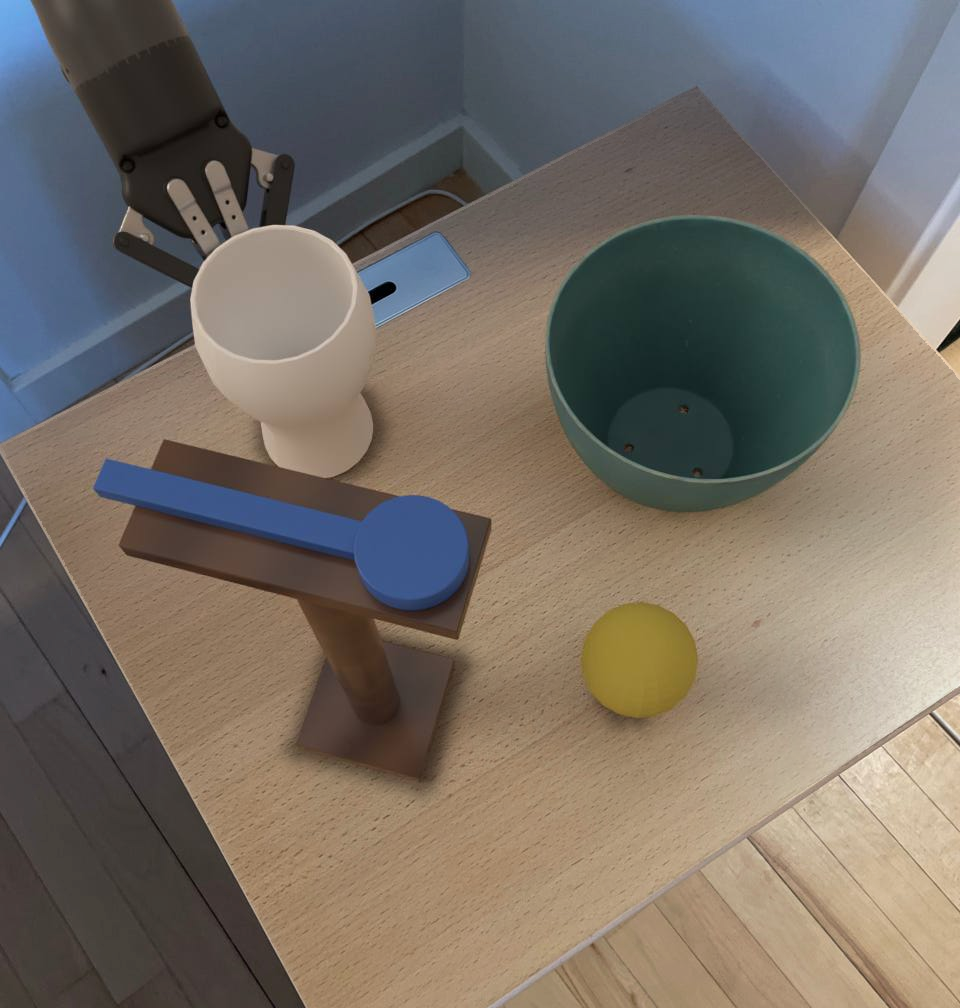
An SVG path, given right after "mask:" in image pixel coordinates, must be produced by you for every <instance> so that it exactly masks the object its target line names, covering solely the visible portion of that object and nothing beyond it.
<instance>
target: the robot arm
mask: <svg viewBox="0 0 960 1008" xmlns="http://www.w3.org/2000/svg"><path fill="white" fill-rule="evenodd" d="M30 3H31V5H32V7H33V9H34V11H35V13H36V16H37V18H38V21H39V23H40V26H41V29H42V31H43V33H44V35H45V38H46V40H47V42H48V44H49V47H50V49H51V50H52V53H53V55H54V56H55V58H56V59H57V62H58V63H59V66H60V70H61V73H62V75H63V76H64V78H65V80H66V81H67V82H68V83H69V84H70V86H71V87H72V89H73V91H74V94H75V95H76V97H77V99H78V100H79V103H80V105H81V106H82V108H83V110H84V111H85V113H86V115H87V117H88V119H89V120H90V123H91V124H92V126H93V128H94V130H95V132H96V134H97V135H98V137H99V139H100V141H101V143H102V145H103V147H104V149H105V150H106V152H107V154H108V156H109V157H110V160H111V161H112V163H113V165H114V167H115V169H116V171H117V173H118V175H119V177H120V182H121V195H122V199H123V201H124V203H125V205H126V206H127V209H126V211H125V214H124V217H123V219H122V222H121V224H120V227H119V229H118V232H116V233H114V235H113V236H112V238H111V244H112V247H113V248H114V249H115V250H116V251H117V252H118V253H121V254H122V255H125V256H126V257H129V258H131V259H133V260H135V261H137V262H139V263H141V264H143V265H145V266H147V267H149V268H151V269H152V270H154V271H156V272H159V273H161V274H163V275H165V276H167V277H169V278H171V279H173V280H175V281H177V282H179V283H181V284H183V285H185V286H186V287H189V288H191V289H192V287H193V281H194V279H195V277H196V275H197V273H198V271H199V269H200V268H198V267H197V266H194V265H192V264H190V263H188V262H186V261H184V260H183V259H181V258H178V257H176V256H175V255H173V254H171V253H168V252H166V251H165V250H163V249H160V248H159V247H157V246H155V241H156V237H155V234H154V233H153V231H152V230H151V229H150V228H149V227H147V226H146V224H145V223H144V218H145V219H146V220H148V221H150V222H152V223H153V224H155V225H157V226H159V227H161V228H162V229H164V230H165V231H168V232H169V233H171V234H173V235H174V236H176V237H179V238H181V239H189V241H190V243H191V244H192V245H193V247H194V249H195V251H196V253H198V255H199V256H200V257H201V259H202V260H203V262H204V261H205V260H206V259H207V258H208V257H209V256H210V254H211V253H212V252H213V251H214V250H215V249H216V248H217V247H219V246H220V245H222V242H221V241H220V239H219V237H218V236H217V234H216V232H215V231H214V229H213V228H214V227H216V225H218V226H219V229H220V231H221V234H222V236H223V238H224V240H225V242H226V241H227V240H229V239H230V238H232V237H233V236H236V235H238V234H241V233H243V232H246V231H248V230H250V227H249V225H248V222H247V220H246V217H245V215H244V213H243V212H244V211H245V209H246V206H247V204H248V203H247V201H248V193H249V186H250V185H249V184H250V176H251V170H252V169H253V171H254V173H255V181H256V183H257V185H258V186H259V188H261V189H263V190H264V192H263V193H264V194H263V198H262V207H261V213H260V218H259V223H258V224H259V225H258V228H259V227H265V226H270V225H287V224H286V223H287V217H288V216H287V215H288V211H289V204H290V199H291V193H292V187H293V181H294V175H295V169H296V168H295V167H296V164H295V160H294V158H293V157H292V156H291V155H290V154H287V153H282V154H275V153H272V152H269V151H265V150H261V149H257V148H255V147H252V143H251V142H250V140H249V138H248V137H247V136H246V135H245V133H244V132H242V131H240V130H239V129H238V128H237V127H236V126H235V125H234V123H233V122H232V120H231V118H230V117H229V115H228V113H227V111H226V109H225V107H224V105H223V103H222V101H221V99H220V96H219V95H218V92H217V91H216V88H215V86H214V84H213V82H212V80H211V78H210V75H209V74H208V72H207V70H206V67H205V65H204V63H203V61H202V59H201V56H200V55H199V53H198V51H197V49H196V47H195V44H194V42H193V41H192V38H191V36H190V33H189V32H188V30H187V27H186V26H185V24H184V22H183V20H182V18H181V16H180V14H179V11H178V9H177V7H176V5H175V3H174V1H173V0H30ZM251 168H252V169H251Z"/></svg>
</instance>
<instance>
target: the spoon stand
mask: <svg viewBox="0 0 960 1008" xmlns="http://www.w3.org/2000/svg"><path fill="white" fill-rule="evenodd" d="M150 469H151V470H155V471H159V472H164V473H168V474H172V475H176V476H180V477H184V478H188V479H192V480H196V481H200V482H204V483H208V484H212V485H216V486H220V487H224V488H229V489H233V490H237V491H241V492H245V493H249V494H253V495H257V496H261V497H265V498H269V499H273V500H277V501H281V502H285V503H289V504H294V505H298V506H302V507H306V508H310V509H314V510H318V511H322V512H326V513H330V514H334V515H338V516H342V517H346V518H350V519H354V520H359V521H363V520H364V519H365V517H366V516H367V515H368V514H369V513H370V512H371V511H372V510H373V509H374V508H376V507H377V506H378V505H380V504H382V503H383V502H385V501H387V500H390V499H392V498H396V497H400V496H401V495H397V494H392V493H387V492H384V491H380V490H375V489H371V488H367V487H363V486H359V485H355V484H351V483H347V482H343V481H340V480H339V481H338V480H335V479H331V478H322V477H318V476H314V475H310V474H306V473H302V472H298V471H293V470H289V469H285V468H281V467H278V465H277V466H276V465H273V464H268V463H264V462H260V461H256V460H251V459H247V458H244V457H238V456H236V455H232V454H228V453H223V452H219V451H214V450H211V449H207V448H202V447H198V446H194V445H190V444H186V443H181V442H178V441H174V440H169V439H164V438H163V439H162V442H161V445H160V446H159V449H158V452H157V454H156V456H155V458H154V461H153V463H152V465H151V468H150ZM451 509H452V510H453V511H454V512H455V513H456V514H457V515H458V517H459V518H460V519H461V521H462V523H463V525H464V527H465V529H466V532H467V536H468V541H469V557H470V558H469V567H468V571H467V574H466V576H465V579H464V581H463V582H462V584H461V586H460V587H459V588H458V590H457V591H456V592H455V593H454V594H453V595H452V596H450V597H449V598H448V599H447V600H445V601H443V602H442V603H440V604H438V605H436V606H434V607H430V608H427V609H422V610H401V609H396V608H393V607H390V606H388V605H386V604H384V603H382V602H381V601H379V600H377V599H376V598H375V597H374V596H373V595H372V594H371V593H370V592H369V591H368V590H367V588H366V587H365V585H364V584H363V582H362V580H361V578H360V575H359V572H358V569H357V566H356V563H355V561H354V560H350V559H346V558H342V557H338V556H334V555H330V554H326V553H322V552H318V551H314V550H310V549H306V548H302V547H298V546H294V545H290V544H286V543H282V542H278V541H274V540H270V539H266V538H262V537H258V536H254V535H250V534H246V533H242V532H238V531H234V530H230V529H226V528H222V527H218V526H214V525H210V524H206V523H202V522H198V521H194V520H190V519H186V518H182V517H178V516H174V515H170V514H166V513H162V512H158V511H154V510H150V509H146V508H142V507H138V506H134V508H133V510H132V511H131V515H130V518H129V519H128V521H127V524H126V526H125V528H124V531H123V533H122V536H121V538H120V540H119V543H118V547H119V548H120V549H121V550H122V552H123V553H124V554H125V555H126V556H127V557H130V558H135V559H139V560H143V561H147V562H151V563H155V564H159V565H163V566H167V567H171V568H175V569H178V570H181V571H186V572H190V573H194V574H197V575H201V576H206V577H208V578H213V579H217V580H221V581H224V582H229V583H233V584H237V585H241V586H244V587H248V588H252V589H256V590H259V591H264V592H268V593H272V594H275V595H280V596H284V597H288V598H291V599H295V600H296V601H297V603H298V605H299V607H300V609H301V611H302V613H303V615H304V617H305V619H306V620H307V622H308V624H309V626H310V628H311V630H312V632H313V634H314V636H315V638H316V640H317V642H318V644H319V646H320V648H321V650H322V652H323V653H324V656H325V659H324V661H323V665H322V667H321V670H320V674H319V676H318V679H317V683H316V685H315V688H314V691H313V693H312V697H311V699H310V703H309V705H308V709H307V711H306V715H305V718H304V721H303V724H302V726H301V729H300V732H299V735H298V738H297V741H296V744H295V745H296V747H297V748H298V750H302V751H304V752H305V751H306V752H309V753H312V754H316V755H320V756H324V757H326V758H331V759H333V760H334V759H335V760H338V761H342V762H345V763H349V764H353V765H356V766H360V767H364V768H368V769H372V770H374V771H379V772H382V773H385V774H390V775H393V776H397V777H399V778H400V777H401V778H405V779H408V780H411V781H415V782H422V781H421V780H422V777H423V774H424V770H425V767H426V764H427V761H428V757H429V754H430V750H431V748H432V743H433V740H434V737H435V733H436V730H437V726H438V723H439V720H440V717H441V713H442V710H443V707H444V703H445V700H446V698H447V697H446V696H447V693H448V691H449V687H450V684H451V679H452V677H453V674H454V669H455V666H456V661H455V658H453V657H448V656H444V655H440V654H436V653H432V652H428V651H424V650H420V649H417V648H414V647H413V648H412V647H409V646H406V645H401V644H397V643H393V642H389V641H386V640H382V639H381V636H380V633H379V630H378V627H377V624H376V620H378V621H381V622H385V623H389V624H393V625H395V626H401V627H405V628H408V629H412V630H415V631H420V632H423V633H428V634H432V635H435V636H438V637H439V636H440V637H444V638H447V639H451V640H455V641H458V640H459V639H460V636H461V632H462V629H463V626H464V624H465V619H466V617H467V616H466V615H467V613H468V609H469V606H470V603H471V599H472V596H473V593H474V589H475V586H476V584H477V583H476V582H477V579H478V576H479V573H480V569H481V566H482V563H483V559H484V556H485V552H486V549H487V547H488V546H487V545H488V542H489V539H490V536H491V533H492V518H490V517H488V516H483V515H478V514H475V513H471V512H466V511H462V510H458V509H454V508H451Z"/></svg>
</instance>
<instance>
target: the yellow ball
mask: <svg viewBox="0 0 960 1008" xmlns="http://www.w3.org/2000/svg"><path fill="white" fill-rule="evenodd" d="M580 664H581V671H582V678H583V680H584V682H585V683H586V686H587V688H588V690H589V692H590V694H592V696H593V697H594V698H595V699H596V700H597V701H598V702H599V703H600V704H601V705H602V706H603V707H605V708H607V709H609V710H611V711H613V712H614V713H616V714H618V715H620V716H625V717H631V718H636V719H643V718H644V719H645V718H653V717H657V716H659V715H662V714H664V713H666V712H668V711H671V710H672V709H674V708H675V707H676V706H677V705H678V704H679V703H680V702H682V701H683V700H684V699H685V697H687V696H688V694H689V692H690V690H691V688H692V687H693V684H694V682H695V681H696V679H697V672H698V667H699V655H698V649H697V645H696V640H695V637H694V636H693V634H692V633H691V631H690V629H689V627H688V625H687V624H686V623H685V622H684V621H683V620H682V619H681V618H680V617H679V616H678V615H677V614H675V613H674V612H672V611H670V610H669V609H666V608H665V607H663V606H661V605H659V604H654V603H648V602H642V601H639V602H629V603H623V604H621V605H619V606H616V607H613V608H611V609H609V610H607V611H606V612H605V613H604V614H603V615H601V616H600V617H599V618H598V619H597V620H596V621H595V622H593V624H592V626H591V627H590V629H589V631H588V632H587V634H586V635H585V637H584V640H583V644H582V648H581V654H580Z"/></svg>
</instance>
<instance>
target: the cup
mask: <svg viewBox="0 0 960 1008" xmlns="http://www.w3.org/2000/svg"><path fill="white" fill-rule="evenodd" d="M198 269H199V271H198V273H197V275H196V277H195V279H194V281H193V287H192V288H191V293H190V299H189V301H190V303H189V304H190V313H191V323H192V333H193V339H194V346H195V349H196V351H197V353H198V355H199V358H200V359H201V362H202V363H203V366H204V368H205V370H206V372H207V374H208V376H209V378H210V381H211V382H212V384H213V386H214V387H215V388H216V389H217V390H218V391H219V392H220V393H221V394H222V395H223V396H224V398H226V399H227V400H228V401H229V402H230V403H232V404H233V405H234V406H235V407H237V408H238V409H239V410H240V411H241V412H243V413H244V414H246V415H248V416H250V417H251V418H252V419H254V420H256V421H258V422H260V427H261V434H262V439H263V444H264V448H265V450H266V452H267V454H268V456H269V458H270V459H271V460H272V461H273V463H274V464H275V465H277V467H281V468H285V469H289V470H293V471H298V472H302V473H306V474H310V475H314V476H318V477H322V478H326V479H330V478H334V477H336V476H339V475H342V473H345V472H347V471H349V470H350V469H352V468H353V467H354V466H355V465H356V464H358V463H359V462H360V461H361V459H362V458H363V457H364V456H365V454H366V453H367V452H368V450H369V447H370V445H371V442H372V440H373V435H374V421H373V417H372V412H371V410H370V409H369V408H370V407H368V404H367V402H366V400H365V398H364V396H363V394H362V393H361V392H362V391H363V389H364V387H365V385H366V382H367V380H368V378H369V376H370V374H371V373H370V372H371V370H372V366H373V362H374V359H375V355H376V348H377V340H378V332H377V326H376V320H375V316H374V315H375V314H374V309H373V306H372V305H373V304H372V300H371V295H370V293H369V291H368V289H367V288H366V286H365V284H364V282H363V281H362V278H361V277H360V275H359V273H358V271H357V270H356V268H355V267H354V265H353V263H352V261H351V260H350V258H349V255H348V254H347V252H345V251H344V250H343V249H342V248H341V247H340V246H339V245H337V243H336V242H334V241H333V240H332V239H330V238H329V237H327V236H325V235H323V234H322V233H320V232H318V231H316V230H313V229H309V228H305V227H301V226H298V225H292V224H291V225H290V224H289V225H287V224H285V225H270V226H265V227H259V226H258V227H254V228H249V230H248V231H246V232H243V233H241V234H238V235H236V236H233V237H232V238H230V239H229V240H227V241H226V240H225V241H224V242H223V243H221V245H220V246H219V247H217V248H216V249H215V250H214V251H213V252H212V253H211V254H210V256H209V257H208V258H207V259H206V260H205V261H204V260H203V262H202V264H201V265H200V267H199V268H198Z"/></svg>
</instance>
